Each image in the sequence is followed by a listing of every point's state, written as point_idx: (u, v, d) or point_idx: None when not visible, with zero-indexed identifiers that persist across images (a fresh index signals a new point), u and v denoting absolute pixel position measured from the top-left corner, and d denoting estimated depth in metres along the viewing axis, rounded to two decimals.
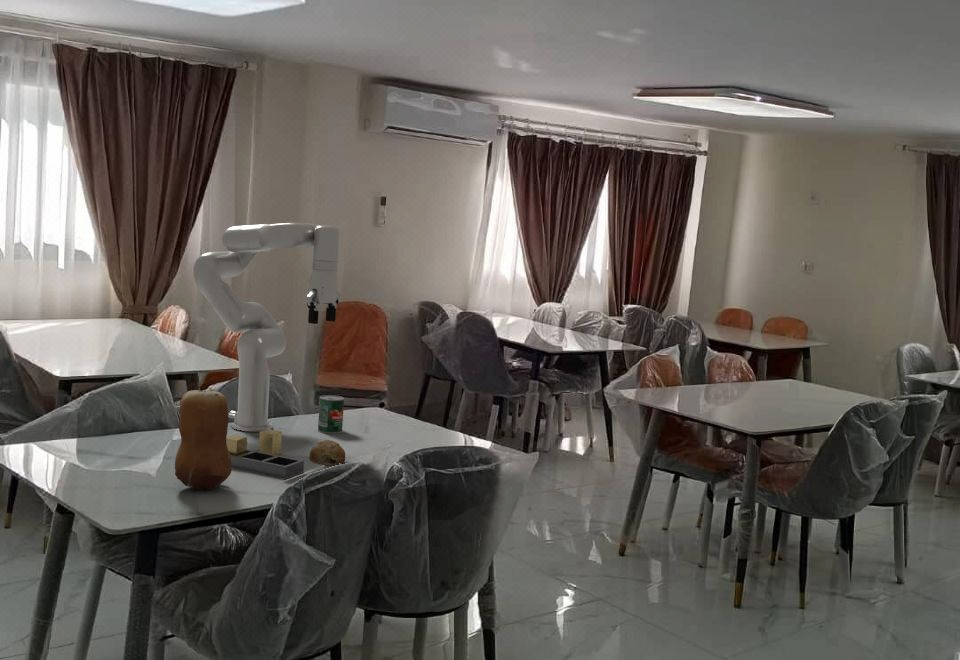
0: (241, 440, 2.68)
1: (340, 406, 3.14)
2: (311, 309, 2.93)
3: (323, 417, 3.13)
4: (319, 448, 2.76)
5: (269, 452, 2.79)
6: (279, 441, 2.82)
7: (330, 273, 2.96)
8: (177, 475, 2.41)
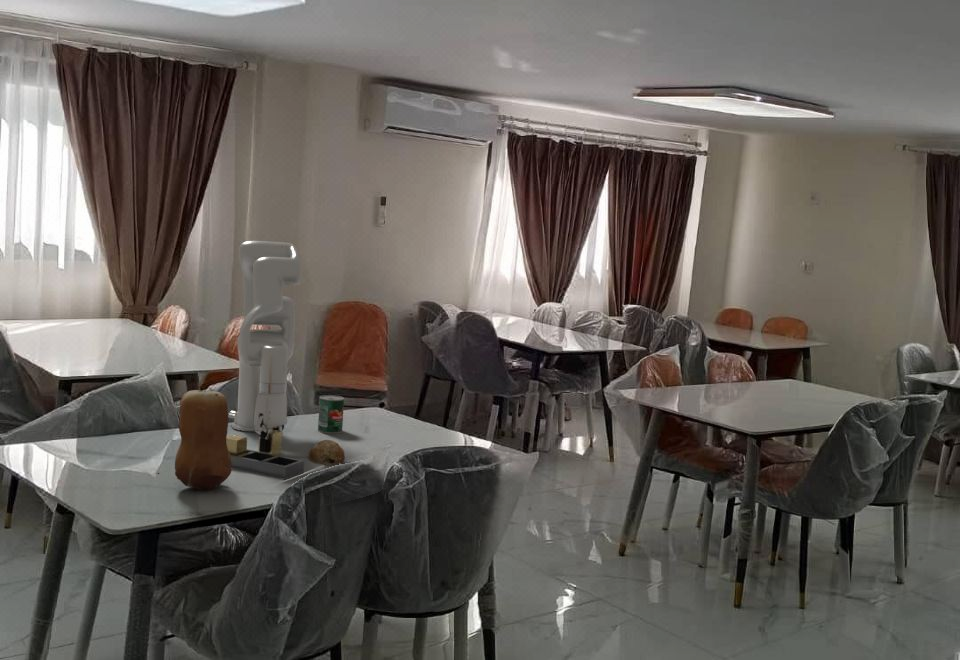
0: (241, 440, 2.68)
1: (340, 406, 3.14)
2: (262, 438, 2.78)
3: (323, 417, 3.13)
4: (318, 448, 2.77)
5: (269, 452, 2.79)
6: (279, 441, 2.82)
7: (278, 396, 2.78)
8: (177, 475, 2.41)
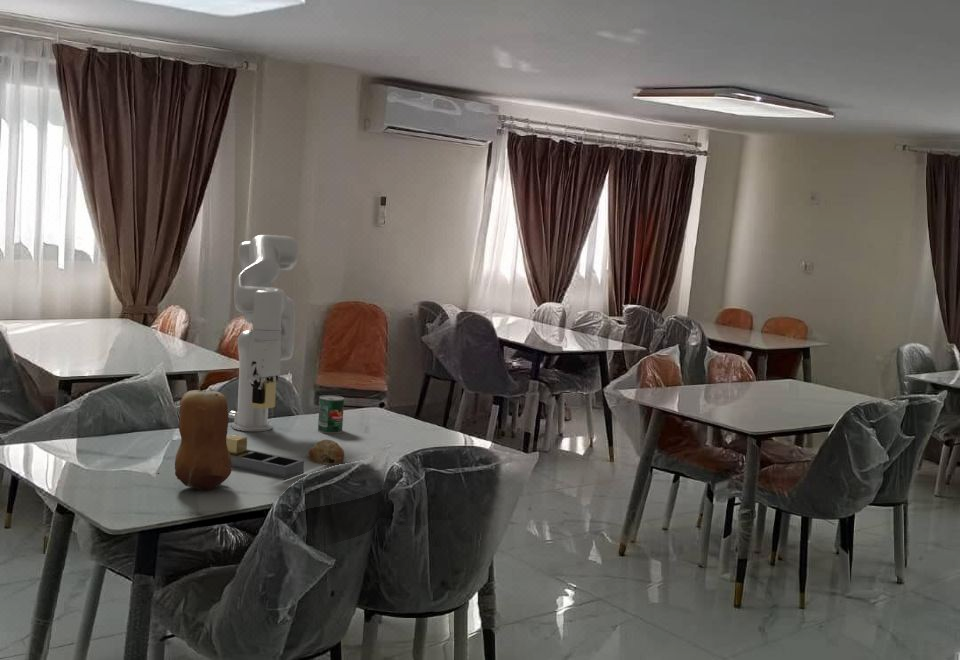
0: (241, 440, 2.68)
1: (340, 406, 3.14)
2: (255, 388, 2.63)
3: (323, 417, 3.13)
4: (318, 448, 2.77)
5: (263, 403, 2.65)
6: (273, 392, 2.67)
7: (272, 343, 2.64)
8: (177, 475, 2.41)
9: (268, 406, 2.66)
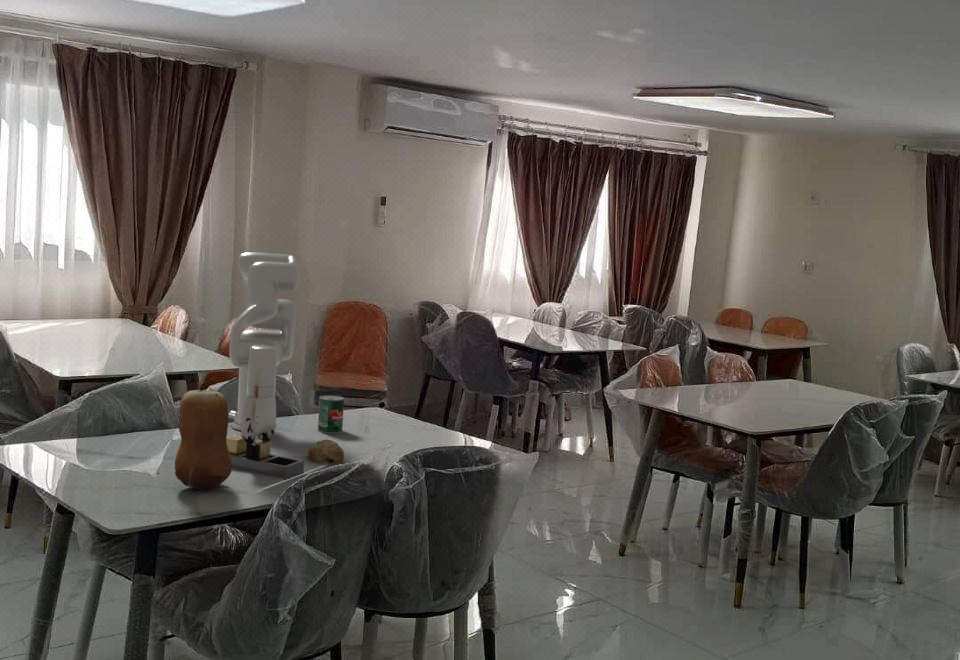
0: (241, 440, 2.68)
1: (340, 406, 3.14)
2: (249, 444, 2.62)
3: (323, 417, 3.13)
4: (318, 447, 2.77)
5: None
6: (268, 452, 2.67)
7: (266, 399, 2.63)
8: (177, 475, 2.41)
9: None
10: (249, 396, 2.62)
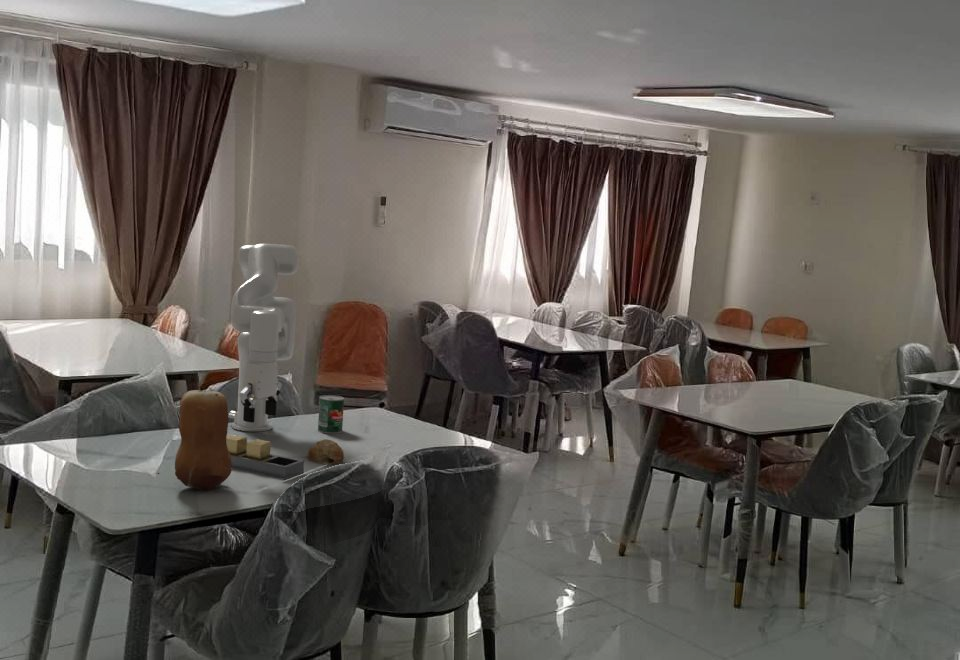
0: (241, 440, 2.68)
1: (340, 406, 3.14)
2: (246, 406, 2.60)
3: (323, 417, 3.13)
4: (317, 447, 2.77)
5: None
6: (268, 452, 2.67)
7: (268, 365, 2.62)
8: (177, 475, 2.41)
9: None
10: (251, 361, 2.61)
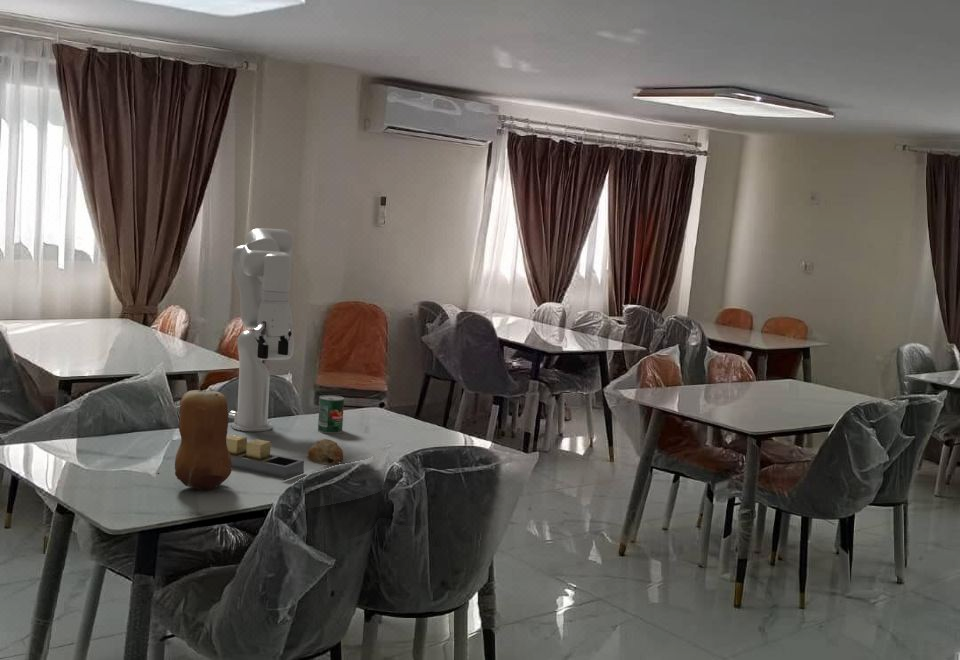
0: (241, 440, 2.68)
1: (340, 406, 3.14)
2: (260, 343, 2.75)
3: (323, 417, 3.13)
4: (317, 447, 2.77)
5: None
6: (268, 452, 2.67)
7: (281, 304, 2.78)
8: (177, 475, 2.41)
9: None
10: (264, 301, 2.76)
